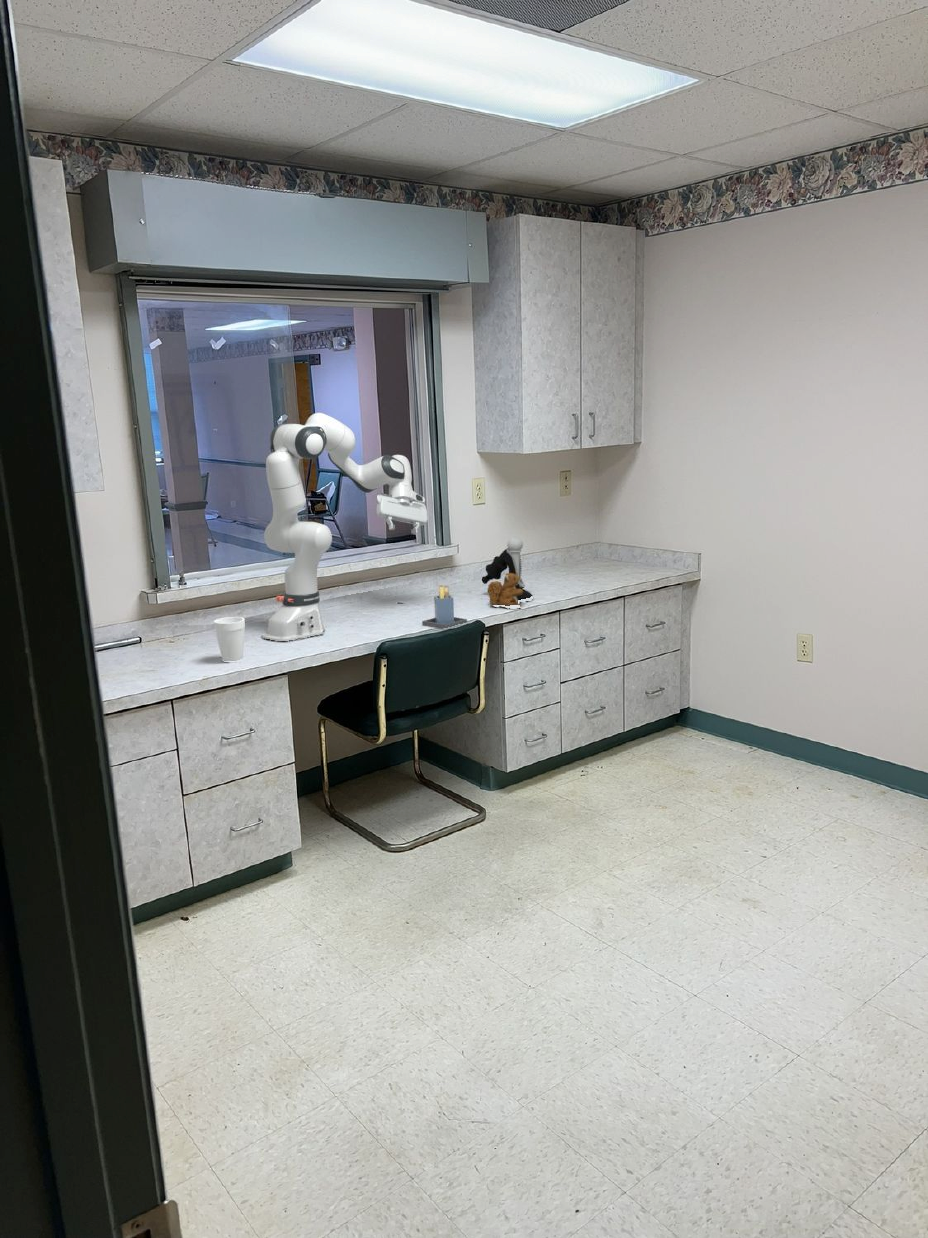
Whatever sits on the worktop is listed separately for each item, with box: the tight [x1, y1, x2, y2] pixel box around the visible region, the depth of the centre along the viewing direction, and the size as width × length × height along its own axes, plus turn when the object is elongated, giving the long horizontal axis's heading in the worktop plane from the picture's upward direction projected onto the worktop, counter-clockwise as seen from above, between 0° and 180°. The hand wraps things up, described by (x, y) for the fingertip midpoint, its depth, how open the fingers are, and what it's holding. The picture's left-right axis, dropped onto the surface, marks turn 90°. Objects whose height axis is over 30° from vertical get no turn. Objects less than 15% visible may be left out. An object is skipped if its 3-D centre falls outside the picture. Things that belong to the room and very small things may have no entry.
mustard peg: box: [438, 586, 445, 598], centre depth 324 cm, size 2×2×13 cm
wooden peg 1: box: [438, 585, 444, 598], centre depth 326 cm, size 2×2×13 cm
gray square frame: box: [421, 616, 468, 630], centre depth 327 cm, size 11×11×2 cm
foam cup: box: [213, 616, 246, 661], centre depth 289 cm, size 10×9×13 cm
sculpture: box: [481, 537, 534, 600], centre depth 368 cm, size 15×24×25 cm, turn 51°
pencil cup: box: [433, 594, 455, 625], centre depth 326 cm, size 6×6×10 cm
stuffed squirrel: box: [487, 572, 523, 606], centre depth 354 cm, size 10×14×13 cm
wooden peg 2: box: [443, 585, 450, 598], centre depth 325 cm, size 2×2×13 cm
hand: (403, 531), depth 337 cm, fingers open, 8 cm apart
